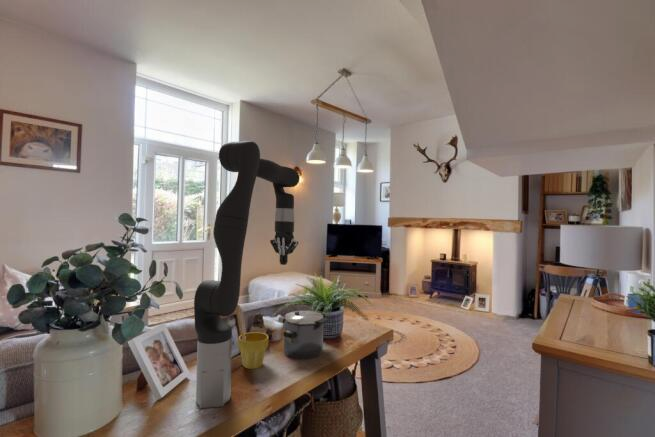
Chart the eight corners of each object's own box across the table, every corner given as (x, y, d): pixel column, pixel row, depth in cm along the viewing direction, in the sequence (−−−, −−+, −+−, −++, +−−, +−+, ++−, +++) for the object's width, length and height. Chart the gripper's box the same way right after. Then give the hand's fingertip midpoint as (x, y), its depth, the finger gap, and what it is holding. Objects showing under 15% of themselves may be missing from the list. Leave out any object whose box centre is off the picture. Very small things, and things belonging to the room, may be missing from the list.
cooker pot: (333, 347, 137) (333, 316, 137) (303, 365, 121) (304, 330, 121) (299, 338, 146) (299, 309, 146) (267, 353, 130) (268, 321, 130)
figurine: (260, 338, 146) (261, 309, 146) (269, 343, 141) (270, 313, 141) (245, 341, 141) (246, 312, 141) (254, 347, 136) (255, 316, 136)
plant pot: (273, 360, 124) (273, 333, 123) (259, 373, 114) (260, 343, 114) (247, 356, 127) (247, 330, 126) (231, 368, 117) (232, 339, 117)
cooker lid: (334, 318, 134) (335, 313, 134) (313, 328, 122) (313, 322, 122) (300, 311, 143) (300, 306, 143) (277, 320, 131) (277, 314, 131)
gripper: (265, 219, 135) (264, 263, 135) (291, 220, 128) (290, 267, 128) (277, 219, 142) (276, 262, 142) (303, 220, 134) (302, 265, 135)
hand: (283, 264), depth 135 cm, fingers closed
